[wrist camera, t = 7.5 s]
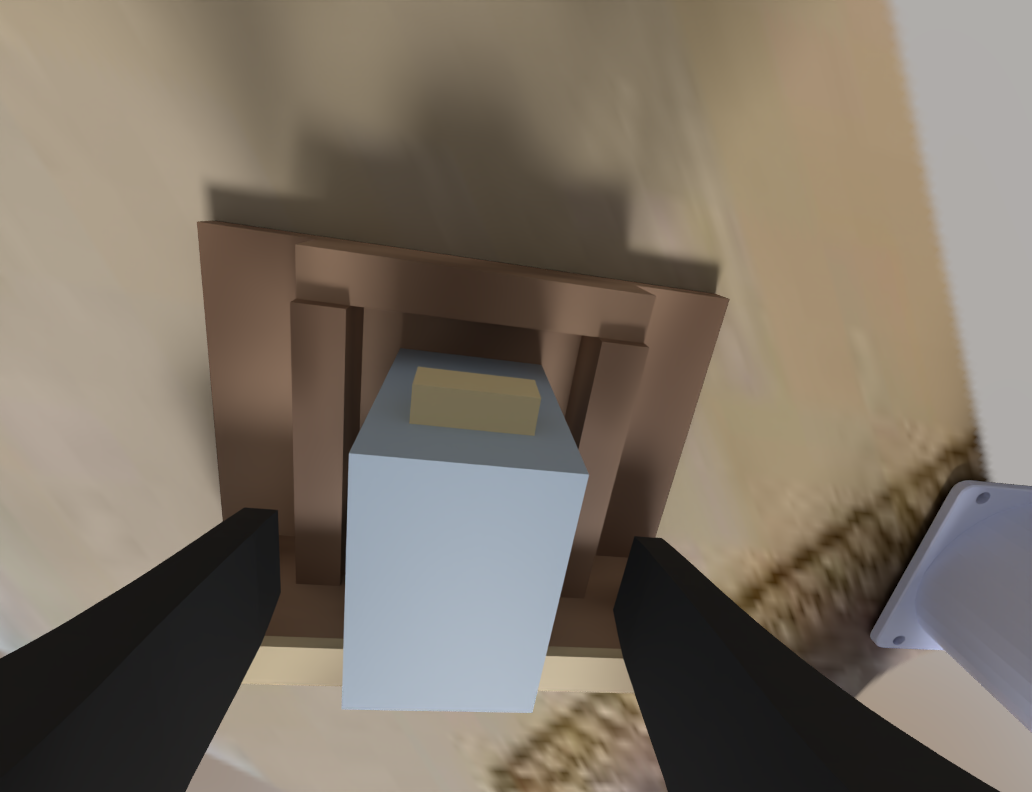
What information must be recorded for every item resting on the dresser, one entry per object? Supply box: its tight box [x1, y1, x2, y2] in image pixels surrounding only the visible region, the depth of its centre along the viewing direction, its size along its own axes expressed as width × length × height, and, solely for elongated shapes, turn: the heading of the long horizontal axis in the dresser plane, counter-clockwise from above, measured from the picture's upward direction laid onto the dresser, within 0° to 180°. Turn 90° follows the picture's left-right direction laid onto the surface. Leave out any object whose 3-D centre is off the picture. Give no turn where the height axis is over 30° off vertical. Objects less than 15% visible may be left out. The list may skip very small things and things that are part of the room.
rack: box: [197, 221, 729, 693], centre depth 13 cm, size 14×10×5 cm
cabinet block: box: [342, 348, 589, 713], centre depth 12 cm, size 4×7×6 cm, turn 171°
